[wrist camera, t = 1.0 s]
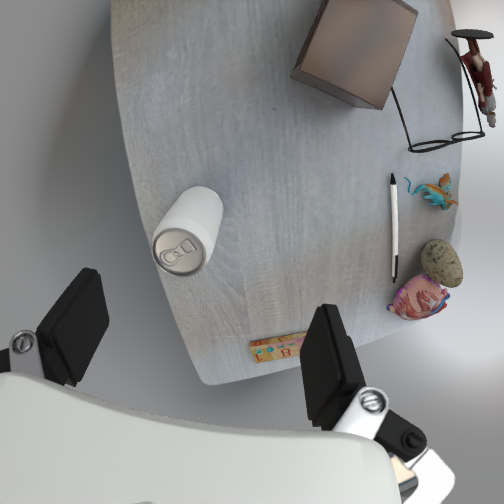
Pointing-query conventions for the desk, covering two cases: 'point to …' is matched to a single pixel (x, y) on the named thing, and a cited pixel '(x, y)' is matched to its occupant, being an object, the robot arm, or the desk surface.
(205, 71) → the desk surface
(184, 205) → the can
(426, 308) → the anatomical model
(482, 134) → the glasses
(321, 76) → the shelf
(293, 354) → the toy
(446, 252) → the decorative egg
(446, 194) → the dragon figurine
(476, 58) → the figurine
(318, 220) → the desk surface
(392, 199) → the pen
